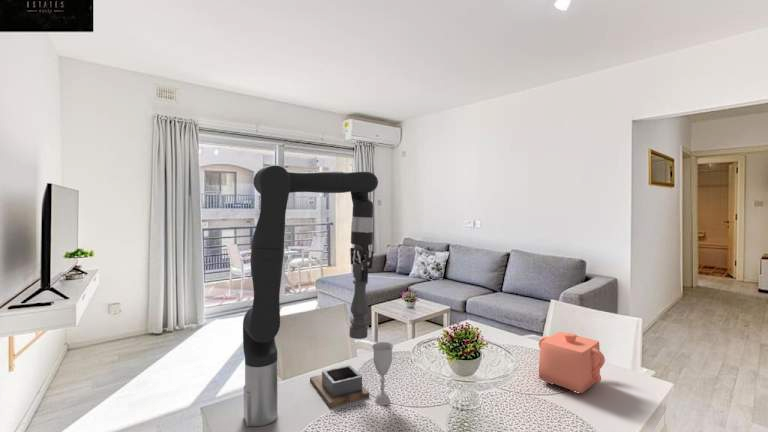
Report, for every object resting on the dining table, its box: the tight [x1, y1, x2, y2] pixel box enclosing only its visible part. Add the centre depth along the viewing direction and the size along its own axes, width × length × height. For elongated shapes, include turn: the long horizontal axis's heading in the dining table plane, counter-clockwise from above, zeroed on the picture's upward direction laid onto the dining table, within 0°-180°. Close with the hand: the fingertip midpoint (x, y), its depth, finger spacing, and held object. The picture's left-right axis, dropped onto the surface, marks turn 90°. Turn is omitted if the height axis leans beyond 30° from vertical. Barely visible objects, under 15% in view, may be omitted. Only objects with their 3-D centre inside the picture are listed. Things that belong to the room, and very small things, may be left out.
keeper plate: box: [309, 374, 370, 408], centre depth 131 cm, size 14×20×2 cm
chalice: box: [371, 341, 394, 406], centre depth 123 cm, size 7×7×18 cm
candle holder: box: [348, 262, 370, 340], centre depth 130 cm, size 6×6×25 cm
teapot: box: [538, 331, 606, 394], centre depth 139 cm, size 25×23×18 cm
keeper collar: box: [321, 364, 363, 399], centre depth 128 cm, size 10×10×5 cm
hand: (360, 279), depth 130 cm, fingers closed on candle holder, 5 cm apart
